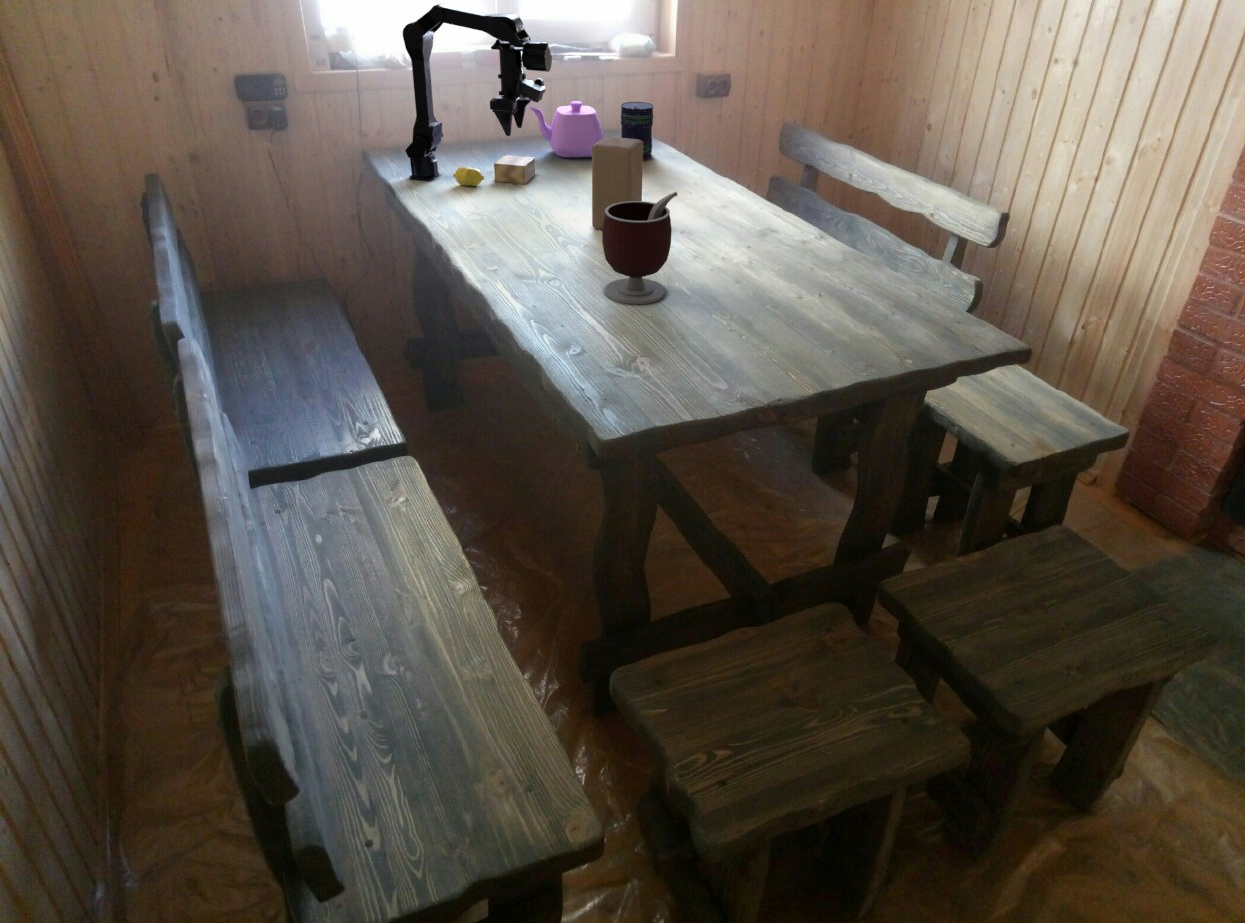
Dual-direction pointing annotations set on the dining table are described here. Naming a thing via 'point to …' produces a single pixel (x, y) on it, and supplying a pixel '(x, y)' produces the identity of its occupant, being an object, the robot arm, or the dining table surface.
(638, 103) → the storage jar
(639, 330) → the dining table surface
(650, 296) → the mate gourd
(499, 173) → the maple block
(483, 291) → the dining table surface
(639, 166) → the block
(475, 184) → the lemon
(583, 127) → the teapot
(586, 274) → the dining table surface
